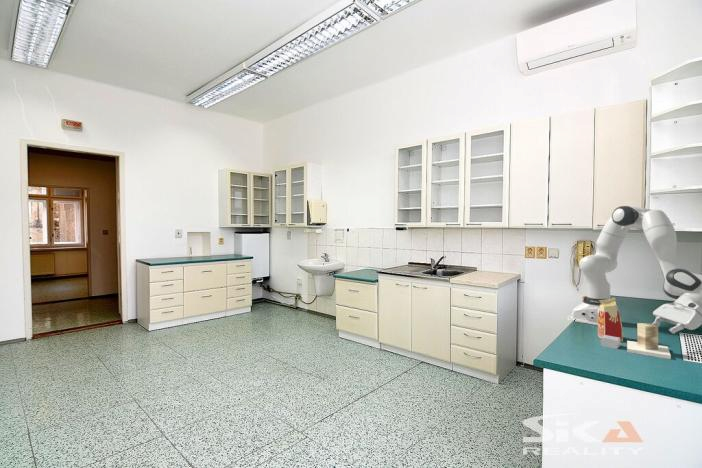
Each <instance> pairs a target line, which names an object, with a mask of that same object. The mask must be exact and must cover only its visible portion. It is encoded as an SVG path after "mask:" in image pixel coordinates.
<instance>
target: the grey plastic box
mask: <svg viewBox="0 0 702 468" xmlns="http://www.w3.org/2000/svg"><path fill="white" fill-rule="evenodd" d="M600 346H601V347H606V348H610V349H614V350H615V349H616V350H618V349H619V348H620V347H621V341H620V338H619V337H614V336H608V335H604V336H602V337H601V338H600Z"/></svg>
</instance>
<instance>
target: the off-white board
mask: <svg viewBox="0 0 702 468" xmlns="http://www.w3.org/2000/svg"><path fill="white" fill-rule="evenodd" d="M626 344H627V345H626V349H627V350H626V352H627V353H629V354H631V353H632V354H637V355H643V356H648V357H649V356H650V357H655V358H661V359H668V360H671V359H672V355H671V352H670V350H669V347H668V346H665V345H661V344H658V350H652V349H644V348H642V347H640V346H637V341H633V340H632V341H631V340H627V341H626Z"/></svg>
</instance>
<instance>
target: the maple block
mask: <svg viewBox="0 0 702 468" xmlns="http://www.w3.org/2000/svg"><path fill="white" fill-rule="evenodd" d="M636 324H637V325H636V327H637V331H636V332H637V334H636V335H637V341H636V342H637V346H640V347H642V348H644V349H652V350H658V345H659V326H655V325H652V324H653V323H646V322H645V323H641V322H637V323H636Z"/></svg>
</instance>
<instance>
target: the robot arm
mask: <svg viewBox="0 0 702 468" xmlns="http://www.w3.org/2000/svg"><path fill="white" fill-rule="evenodd" d="M630 229H637V230H642V231H643V233H644V237H645V238H646V240H647V242H648V244H649V246H650V248H651V249H652V251H653V252H654V253H653V254H654V255H655V257H656V259H657V261H658V263H659V266H660V270H661V273H662V276H663V279H664V280H663V284H662V290H663V293H664V294H665V295H666V296H667V297H669V298H671V299H675V301H673V302H669V303H664V304H662V305H660V306H659V307H657V308H656V309H655V310H653V312H652V315H653V316H654V317H655V320H654V321H653V322H652V323H651V324H652V325H655V326H658V327H660V326H661V323H662V322H667V323H670V324H672V325H675V326H673V327H672V326H671V327H670V328H669V329H668V331H669V332H670V333H672V334H676V333H677V332H679V331H683V330H684V329H687V330H690V331H692V330H696V329H698V328H699V327H700V326H701V325H702V274H698V273H694V272H691V271H689V270H687V269H685V268H680V267H679V265H678V262H677V260H676V259H677V258H676V252H677V251H676V250H677V246H678V245H677V243H678V240H677V238H678V237H677V232H676V230H675V228H674V225H673V223H672V221H671V220H670V218H669V217H668V215H667V214H666V213H665V212H664V211H663V210H660V209H648V208H644V207H640V206H639V207H638V206H637V207H636V206H629V205H622V206H618V207H616V208H615V209H614V210H613V211H612V213H611V216H610V217H609V218H608V219H607V220H606V222H605V224H604V226H603V227H602V229H601V231H600V233H599V236H598V238H597V240H596V251H595V254H589V255H586V256H584V257H582V258H581V259H580V260H579V262H578V267H579V269H580V270H581V271H582V273H583V276H584V277H585V282H586V295H583V296H582V302H581V303H580V304H578V305H576V306H575V307H573V308H572V310H571V313H570V314H569V315H567V317H566V319H567V320H568V321H570V322H571V321H572V322H576V323H582V324H583V323H584V324H589V325H595V326H598V315H599V308H600V301H599V300H608V299H612V298H611V284H610V283H609V282H608V279H607V276H606V274H607V273H611V272H612V271H614V270H616V269H617V267H618V260H617V259H618V255H619V250H620V248H621V246H622V244H623V242H624V240H625V238H626V236H627V234H628V232H629V230H630ZM575 319H576V320H575ZM574 320H575V321H574Z"/></svg>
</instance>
